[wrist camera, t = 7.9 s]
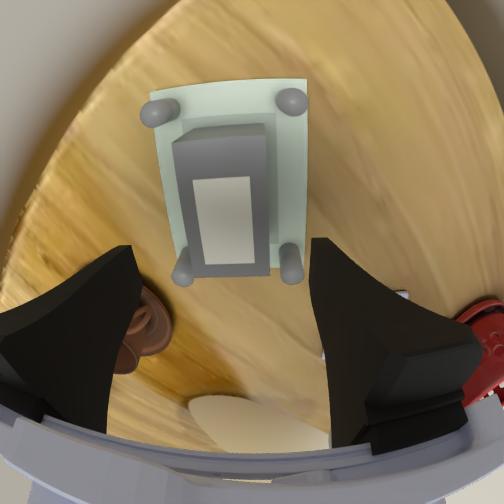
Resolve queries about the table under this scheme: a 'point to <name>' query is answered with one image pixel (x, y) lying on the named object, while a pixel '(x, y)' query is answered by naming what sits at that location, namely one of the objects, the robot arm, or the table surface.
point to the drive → (224, 199)
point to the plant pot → (486, 350)
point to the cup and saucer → (144, 333)
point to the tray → (277, 149)
